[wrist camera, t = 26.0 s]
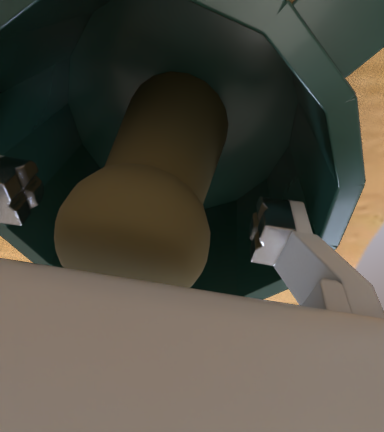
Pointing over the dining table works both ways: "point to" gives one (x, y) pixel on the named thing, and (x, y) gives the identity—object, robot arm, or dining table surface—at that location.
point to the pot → (219, 81)
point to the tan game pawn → (149, 188)
